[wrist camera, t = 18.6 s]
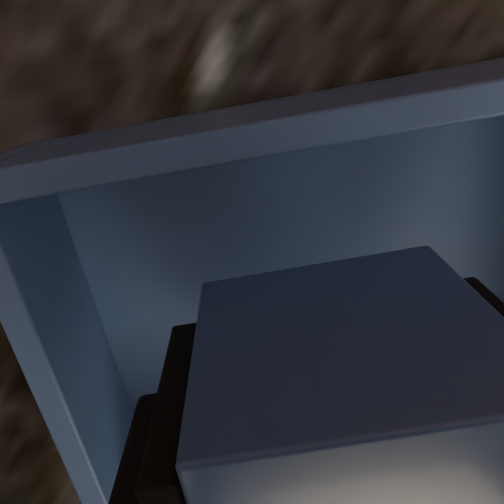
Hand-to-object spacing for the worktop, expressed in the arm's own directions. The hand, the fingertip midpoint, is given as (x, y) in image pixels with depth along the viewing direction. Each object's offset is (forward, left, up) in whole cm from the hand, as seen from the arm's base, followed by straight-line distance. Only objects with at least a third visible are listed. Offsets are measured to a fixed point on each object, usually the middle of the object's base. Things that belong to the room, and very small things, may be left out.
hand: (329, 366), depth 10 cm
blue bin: (0, 0, -3) cm, 3 cm away
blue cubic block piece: (0, 0, 0) cm, 0 cm away
